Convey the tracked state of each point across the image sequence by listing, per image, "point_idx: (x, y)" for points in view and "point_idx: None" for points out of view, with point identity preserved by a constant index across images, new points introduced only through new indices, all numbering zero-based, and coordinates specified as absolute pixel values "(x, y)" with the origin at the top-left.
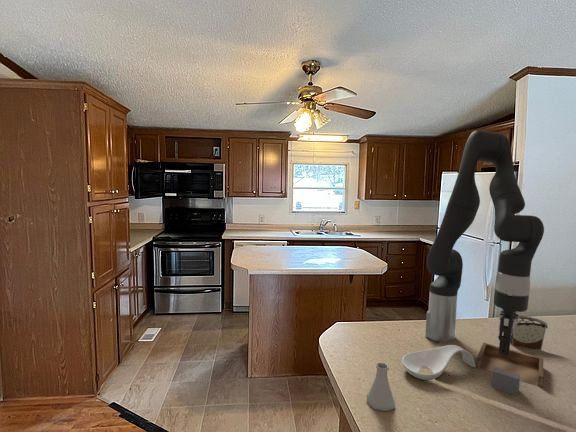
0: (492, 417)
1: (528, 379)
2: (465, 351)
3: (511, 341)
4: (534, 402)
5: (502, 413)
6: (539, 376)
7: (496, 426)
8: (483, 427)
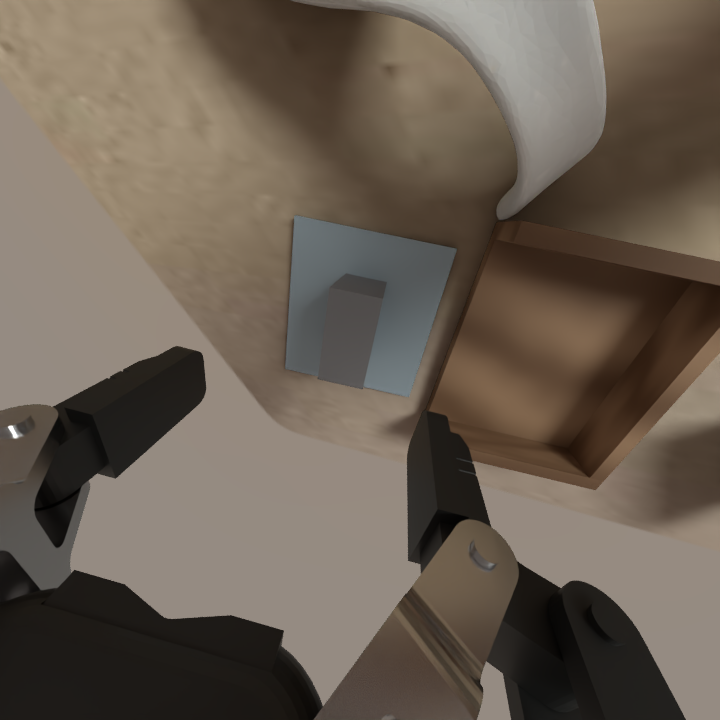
0: (187, 259)
1: (462, 401)
2: (509, 126)
3: (408, 461)
4: None
5: (229, 291)
6: None
7: (153, 266)
8: (119, 228)
